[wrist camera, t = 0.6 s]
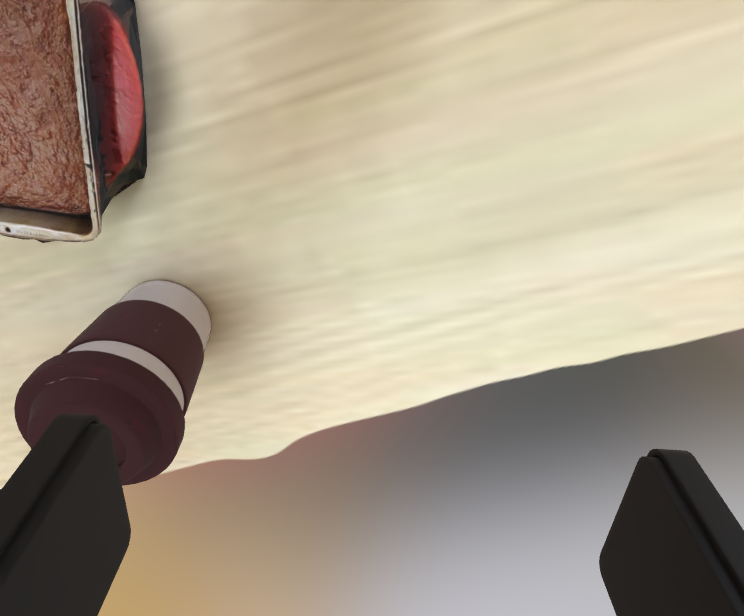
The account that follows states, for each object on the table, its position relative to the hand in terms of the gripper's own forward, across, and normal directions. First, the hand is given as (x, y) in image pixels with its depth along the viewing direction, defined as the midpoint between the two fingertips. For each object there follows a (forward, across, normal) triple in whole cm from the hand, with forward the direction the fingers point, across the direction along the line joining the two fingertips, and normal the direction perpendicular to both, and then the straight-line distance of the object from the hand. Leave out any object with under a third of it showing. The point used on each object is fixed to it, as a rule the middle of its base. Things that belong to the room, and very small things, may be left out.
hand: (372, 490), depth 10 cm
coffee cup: (+33, +16, +17) cm, 40 cm away
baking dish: (+33, +21, -1) cm, 39 cm away
